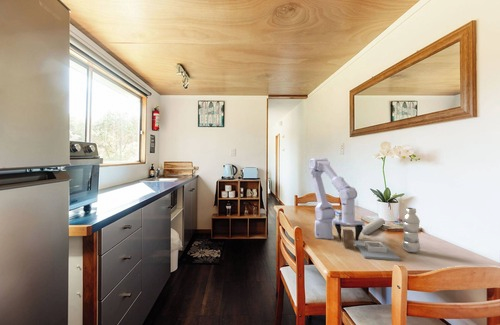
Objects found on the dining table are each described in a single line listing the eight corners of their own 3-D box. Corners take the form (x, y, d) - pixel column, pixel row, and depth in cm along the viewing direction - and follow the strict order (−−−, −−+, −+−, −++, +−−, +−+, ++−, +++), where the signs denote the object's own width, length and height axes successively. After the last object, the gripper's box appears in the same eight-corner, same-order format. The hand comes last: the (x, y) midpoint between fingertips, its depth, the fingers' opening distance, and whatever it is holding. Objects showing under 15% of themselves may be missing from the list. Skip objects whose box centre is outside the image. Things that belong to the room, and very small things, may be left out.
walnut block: (344, 248, 106) (344, 231, 106) (343, 244, 110) (342, 229, 110) (353, 248, 106) (353, 232, 105) (351, 245, 110) (351, 229, 109)
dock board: (364, 258, 95) (364, 251, 95) (353, 242, 113) (353, 236, 113) (400, 260, 93) (400, 253, 93) (383, 244, 110) (383, 238, 110)
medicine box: (333, 222, 148) (333, 209, 148) (339, 222, 149) (339, 209, 149) (338, 226, 140) (338, 212, 140) (345, 225, 141) (345, 212, 141)
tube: (370, 229, 121) (386, 220, 137) (361, 224, 125) (377, 216, 141) (367, 238, 123) (383, 227, 139) (358, 232, 126) (374, 223, 143)
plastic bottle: (421, 255, 97) (421, 210, 97) (402, 252, 101) (402, 209, 100) (419, 250, 103) (419, 207, 102) (401, 247, 106) (401, 206, 106)
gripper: (333, 213, 105) (334, 241, 105) (366, 214, 102) (366, 243, 102) (331, 210, 112) (331, 236, 112) (362, 211, 109) (362, 238, 109)
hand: (348, 239), depth 108 cm, fingers open, 7 cm apart
